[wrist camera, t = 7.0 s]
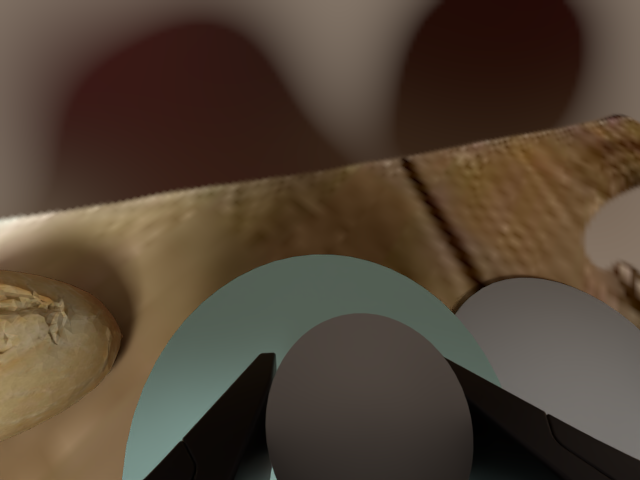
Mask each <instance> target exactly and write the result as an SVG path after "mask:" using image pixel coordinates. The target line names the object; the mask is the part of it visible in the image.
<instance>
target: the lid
mask: <svg viewBox="0 0 640 480" xmlns="http://www.w3.org/2000/svg"><path fill="white" fill-rule="evenodd" d="M272 352H273V353H275V354H276V366H277V372H276V374H275V376H274V379H273V382H272V385H271V389H270V392H269V396H268V402H267V408H266V440H267V447H268V452H269V458H270V461H271V464H272V470H271V477H270V480H469V476H470V472H471V467H472V459H473V429H472V421H471V416H470V412H469V407H468V403H467V400H466V398H465V395H464V392H463V389H462V387H461V385H460V383H459V381H458V379H457V377H456V375H455V373H454V371H453V370H452V368H451V367H450V365H449V363H448V362H447V361H446V359H445V358H447V359H449V360H451V361H453V362H455V363H456V364H458V365H460V366H462V367H464V368H466V369H467V370H469V371H471V372H473V373H475V374H477V375H478V376H480V377H482V378H484V379H486V380H488V381H489V382H491V383H493V384H495V385H497V386H499V387H501V384H500V382H499V380H498V377H497V376H496V374H495V372H494V370H493V368H492V366H491V364H490V363H489V361H488V359H487V357H486V355H485V354H484V352H483V351H482V349H481V348H480V346H479V345H478V343H477V342H476V340H475V339H474V337H473V336H472V334H471V333H470V332H469V331H468V330H467V328H466V327H465V326H464V325H463V324H462V322H461V321H460V320H459V319H458V318H457V317H456V316H455V315H454V314H453V313H452V312H451V311H450V310H449V309H448V308H447V307H446V306H445V305H444V304H443V303H442V302H441V301H440V300H439V299H437V298H436V297H435V296H434V295H432V294H431V293H430V292H429V291H427V290H426V289H425V288H423V287H422V286H420V285H419V284H417V283H416V282H414V281H412V280H411V279H409V278H408V277H406V276H404V275H402V274H400V273H398V272H396V271H394V270H392V269H390V268H387V267H384V266H382V265H379V264H376V263H373V262H370V261H367V260H362V259H358V258H354V257H348V256H340V255H305V256H296V257H291V258H286V259H282V260H278V261H274V262H271V263H268V264H266V265H263V266H260V267H257V268H255V269H253V270H251V271H249V272H247V273H245V274H243V275H241V276H239V277H237V278H235V279H234V280H232V281H231V282H229V283H228V284H226V285H224V286H223V287H221V288H220V289H219V290H217V291H216V292H215V293H214V294H212V295H211V296H210V297H209V298H207V299H206V300H205V301H204V302H203V303H201V305H200V306H199V307H198V308H197V309H196V310H195V311H194V312H193V313H192V314H191V315H190V316H189V317H188V318H187V319H186V320H185V321H184V322H183V324H182V325H181V326H180V327H179V329H178V330H177V331H176V332H175V334H174V335H173V336H172V338H171V339H170V340H169V342H168V343H167V345H166V347H165V348H164V350H163V351H162V353H161V355H160V356H159V358H158V359H157V361H156V363H155V365H154V367H153V369H152V371H151V373H150V375H149V377H148V379H147V382H146V384H145V386H144V388H143V391H142V393H141V396H140V399H139V402H138V405H137V407H136V410H135V413H134V416H133V420H132V425H131V429H130V433H129V437H128V441H127V446H126V453H125V461H124V469H123V477H122V480H143V479H144V478H145V477H146V476H147V475H148V474H149V473H150V472H151V471H152V470H153V469H154V468H155V467H156V466H157V465H158V464H159V463H160V462H161V461H162V460H163V459H164V458H165V457H166V455H167V454H168V453H169V452H170V451H171V450H172V449H173V448H174V447H175V446H176V445H177V444H178V442H179V441H182V439H183V437H184V436H185V435H186V434H187V433H188V432H189V431H190V430H191V428H192V427H193V426H194V425H195V424H196V423H197V422H198V421H199V420H200V419H201V418H202V416H203V415H204V414H205V413H206V412H207V411H208V410H209V409H210V408H211V407H212V406H213V404H214V403H215V402H216V401H217V400H218V399H219V398H220V397H221V396H222V395H223V393H224V392H225V391H226V390H227V389H228V388H229V387H230V386H231V385H232V384H233V383H234V381H235V380H236V379H237V378H238V377H239V376H240V375H241V374H242V373H243V372H244V371H245V369H246V368H247V367H248V366H249V365H250V364H251V363H252V362H253V361H254V360H255V359H256V357H257V356H258V355H259V354H261V353H272ZM444 357H445V358H444ZM501 388H502V387H501Z"/></svg>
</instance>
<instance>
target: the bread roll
mask: <svg viewBox="0 0 640 480" xmlns="http://www.w3.org/2000/svg"><path fill="white" fill-rule="evenodd" d="M122 337H123V335H122V334H121V332H120V328H119V327H118V324H117V322H116V320H115V318H114V317H113V316H112V314H111V313H110V312H109V311H108V309H107V308H106V307H105V306H104V305H103V304H102V302H101V301H100V300H98V299H97V298H96V297H94V296H93V295H91V294H90V293H88V292H86V291H84V290H81V289H79V288H77V287H75V286H72V285H70V284H67V283H64V282H61V281H57V280H53V279H50V278H47V277H43V276H39V275H34V274H28V273H22V272H15V271H7V270H0V442H1V441H4V440H6V439H8V438H11V437H13V436H15V435H17V434H20V433H22V432H24V431H26V430H28V429H30V428H32V427H34V426H37V425H39V424H41V423H43V422H44V421H46V420H48V419H50V418H52V417H54V416H56V415H58V414H59V413H61V412H62V411H64V410H66V409H67V408H69V407H70V406H71V405H73V404H75V403H76V402H78V401H79V400H80V399H81V398H83V397H84V396H85V395H86V394H88V393H89V392H91V391H92V390H93V389H94V388H95V387H96V386H97V385H98V384H99V383H100V382H101V381H102V380H103V379H104V377H105V375H106V374H107V373H109V372H110V371H111V368H112V366H113V363H114V361H115V358H116V356H117V353H118V351H119V348H120V342H121V339H122Z"/></svg>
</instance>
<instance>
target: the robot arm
mask: <svg viewBox="0 0 640 480" xmlns="http://www.w3.org/2000/svg"><path fill="white" fill-rule="evenodd" d="M444 358H445V357H444ZM445 359H446V361H447V362H448V363H449V365H450V367H451V368H452V370H453V371H454V373H455V375H456V377H457V379H458V381H459V383H460V385H461V387H462V389H463V392H464V395H465V398H466V400H467V403H468V407H469V412H470V416H471V421H472V429H473V459H472V467H471V472H470V476H469V480H640V460H638V459H636V458H634V457H632V456H630V455H628V454H626V453H624V452H622V451H620V450H618V449H616V448H614V447H612V446H610V445H608V444H606V443H603V442H601V441H599V440H597V439H595V438H593V437H592V436H590V435H588V434H586V433H584V432H582V431H580V430H578V429H576V428H574V427H572V426H571V425H569V424H567V423H565V422H563V421H561V420H559V419H558V418H556V417H554V416H552V415H550V414H547V415H546V412H545V411H543V410H541V409H539V408H537V407H535V406H534V405H532V404H530V403H528V402H526V401H524V400H523V399H521V398H519V397H517V396H515V395H513V394H512V393H510V392H508V391H506V390H504V389H502V388H501V387H499V386H497V385H495V384H493V383H491V382H489V381H488V380H486V379H484V378H482V377H480V376H478V375H477V374H475V373H473V372H471V371H469V370H467V369H466V368H464V367H462V366H460V365H458V364H456V363H455V362H453V361H451V360H449V359H447V358H445ZM276 372H277V366H276V354H275V353H273V352H272V353H261V354H259V355H258V356H257V357H256V359H255V360H254V361H253V362H252V363H251V364H250V365H249V366H248V367H247V368H246V369H245V371H244V372H243V373H242V374H241V375H240V376H239V377H238V378H237V379H236V380H235V381H234V383H233V384H232V385H231V386H230V387H229V388H228V389H227V390H226V391H225V392H224V393H223V395H222V396H221V397H220V398H219V399H218V400H217V401H216V402H215V403H214V404H213V406H212V407H211V408H210V409H209V410H208V411H207V412H206V413H205V414H204V415H203V416H202V418H201V419H200V420H199V421H198V422H197V423H196V424H195V425H194V426H193V427H192V428H191V430H190V431H189V432H188V433H187V434H186V435H185V436H184V437H183V439H182V441H179V442H178V444H177V445H176V446H175V447H174V448H173V449H172V450H171V451H170V452H169V453H168V454H167V455H166V457H165V458H164V459H163V460H162V461H161V462H160V463H159V464H158V465H157V466H156V467H155V468H154V469H153V470H152V471H151V472H150V473H149V474H148V475H147V476H146V477H145V478H144V479H143V480H270V477H271V470H272V464H271V461H270V458H269V452H268V447H267V440H266V408H267V402H268V396H269V392H270V389H271V385H272V382H273V379H274V376H275V374H276Z"/></svg>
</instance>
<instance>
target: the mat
mask: <svg viewBox="0 0 640 480" xmlns="http://www.w3.org/2000/svg"><path fill="white" fill-rule="evenodd" d="M455 316H456V317H457V318H458V319H459V320H460V321H461V322H462V324H463V325H464V326H465V327H466V328H467V330H468V331H469V332H470V333H471V334H472V336H473V337H474V339H475V340H476V342H477V343H478V345H479V346H480V348H481V349H482V351H483V352H484V354H485V355H486V357H487V359H488V361H489V363H490V364H491V366H492V368H493V370H494V372H495V374H496V376H497V377H498V380H499V382H500V384H501V387H502V389H504V390H506V391H508V392H510V393H512V394H513V395H515V396H517V397H519V398H521V399H523V400H524V401H526V402H528V403H530V404H532V405H534V406H535V407H537V408H539V409H541V410H543V411H545V412H546V415H547V414H550V415H552V416H554V417H556V418H558V419H559V420H561V421H563V422H565V423H567V424H569V425H571V426H572V427H574V428H576V429H578V430H580V431H582V432H584V433H586V434H588V435H590V436H592V437H593V438H595V439H597V440H599V441H601V442H603V443H606V444H608V445H610V446H612V447H614V448H616V449H618V450H620V451H622V452H624V453H626V454H628V455H630V456H632V457H634V458H636V459H638V460H640V330H639V329H638V328H637V327H636V326H635V325H634V324H633V323H631V322H630V321H629V320H627V319H626V318H625V317H624V316H622V315H621V314H620V313H619V312H617V311H616V310H614V309H613V308H611V307H610V306H608V305H607V304H605V303H604V302H602V301H600V300H598V299H596V298H595V297H593V296H591V295H589V294H587V293H585V292H583V291H580V290H578V289H576V288H574V287H571V286H568V285H565V284H562V283H558V282H554V281H550V280H545V279H537V278H514V279H507V280H502V281H499V282H496V283H493V284H491V285H488V286H486V287H484V288H482V289H481V290H479V291H478V292H476V293H475V294H474V295H472V296H471V297H470V298H468V299H467V300H466V301H465V302H464V303H463V304H462V305H461V306H460V308H459V309H458V311H457V312H456V313H455Z"/></svg>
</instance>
